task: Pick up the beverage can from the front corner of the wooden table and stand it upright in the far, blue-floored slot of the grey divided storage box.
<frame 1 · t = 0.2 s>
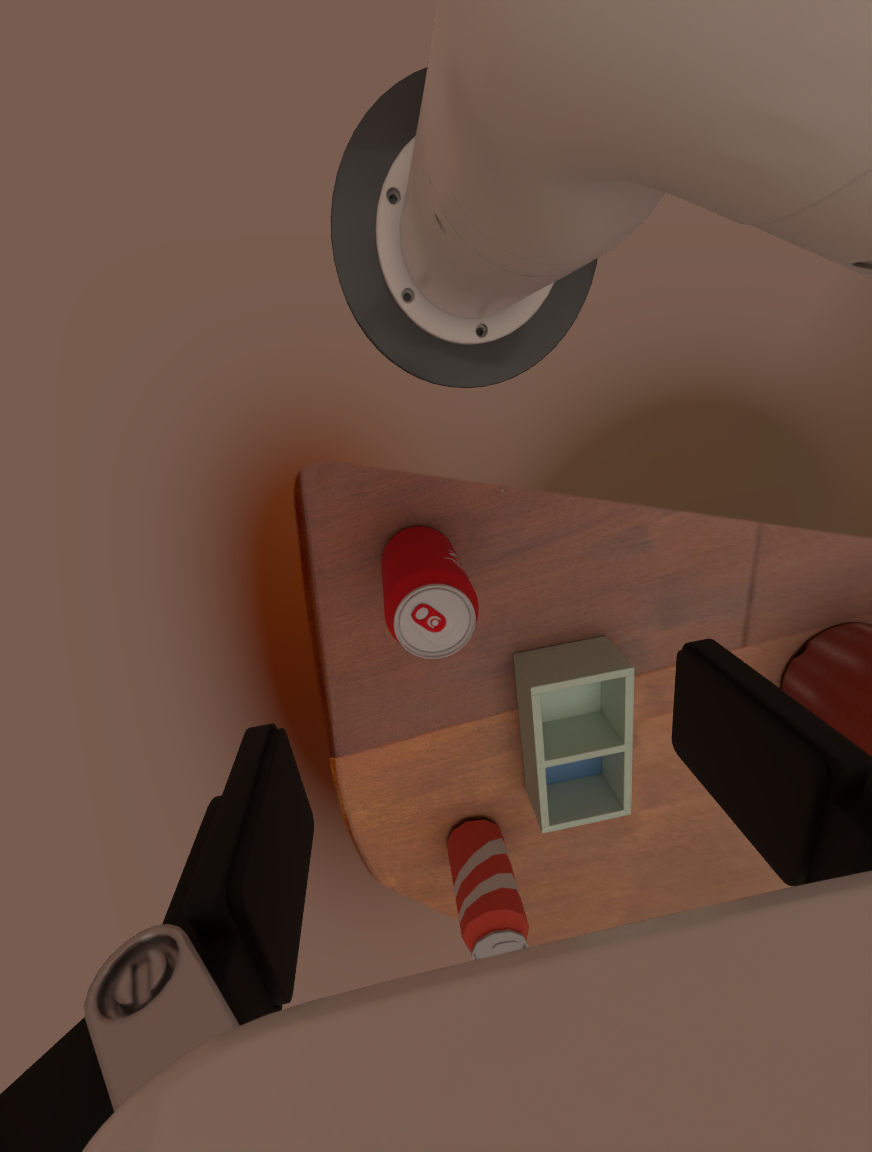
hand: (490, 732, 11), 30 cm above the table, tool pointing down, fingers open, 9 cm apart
beverage can 2: (473, 833, 54), on the table
flower pot: (831, 669, 52), on the table
beverage can: (417, 557, 41), on the table
grey divided storage box: (562, 717, 49), on the table
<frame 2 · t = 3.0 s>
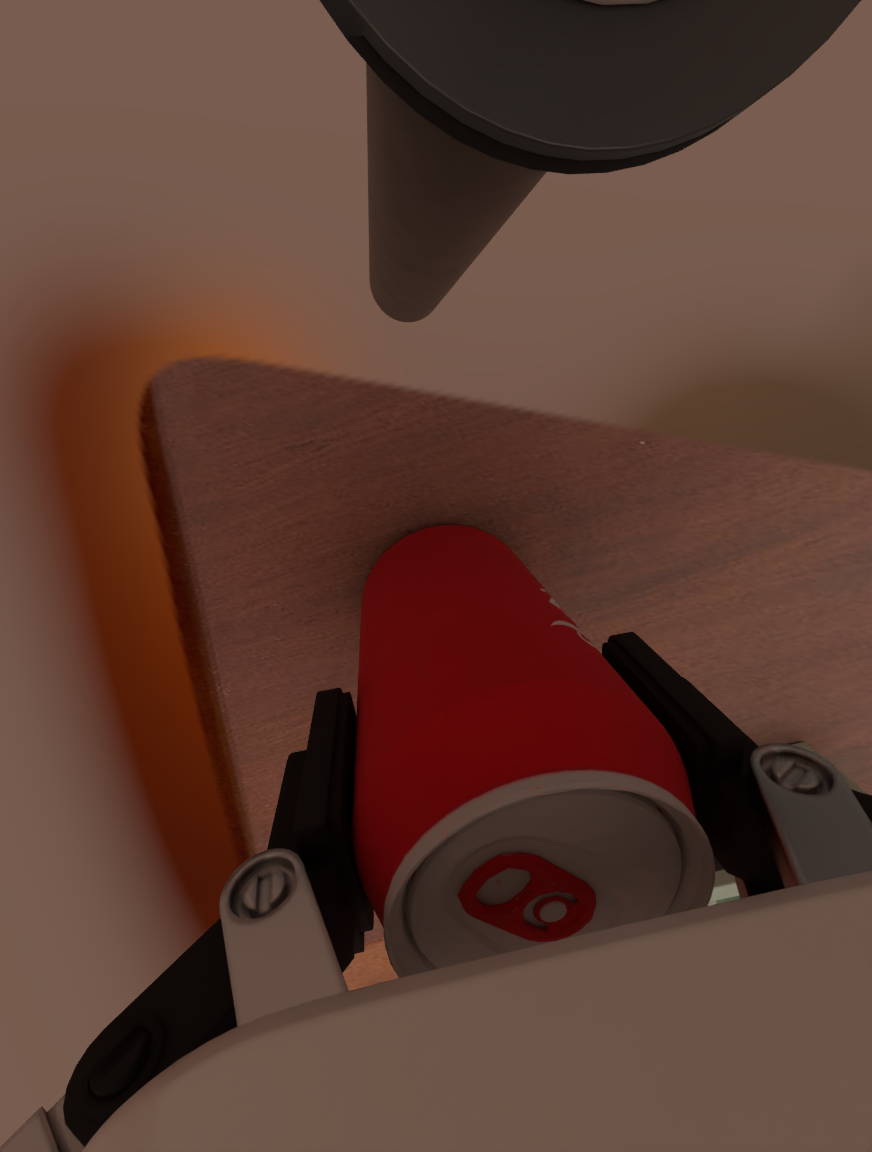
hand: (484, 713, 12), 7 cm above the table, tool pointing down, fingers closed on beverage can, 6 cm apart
beverage can: (443, 595, 19), on the table, touching gripper
grey divided storage box: (702, 881, 27), on the table
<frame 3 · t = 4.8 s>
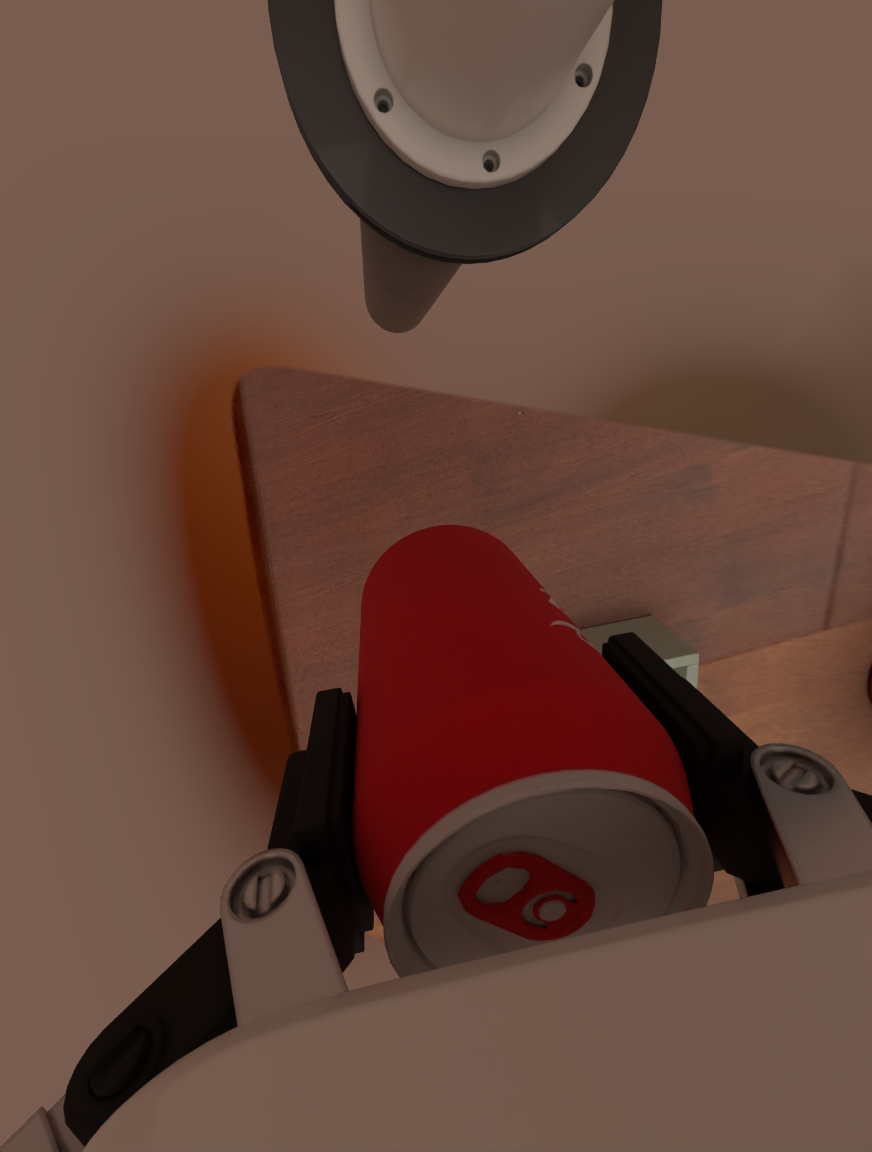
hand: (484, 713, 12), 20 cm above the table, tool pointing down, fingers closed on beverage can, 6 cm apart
beverage can: (443, 595, 19), point 13 cm above the table, touching gripper
grey divided storage box: (595, 722, 39), on the table
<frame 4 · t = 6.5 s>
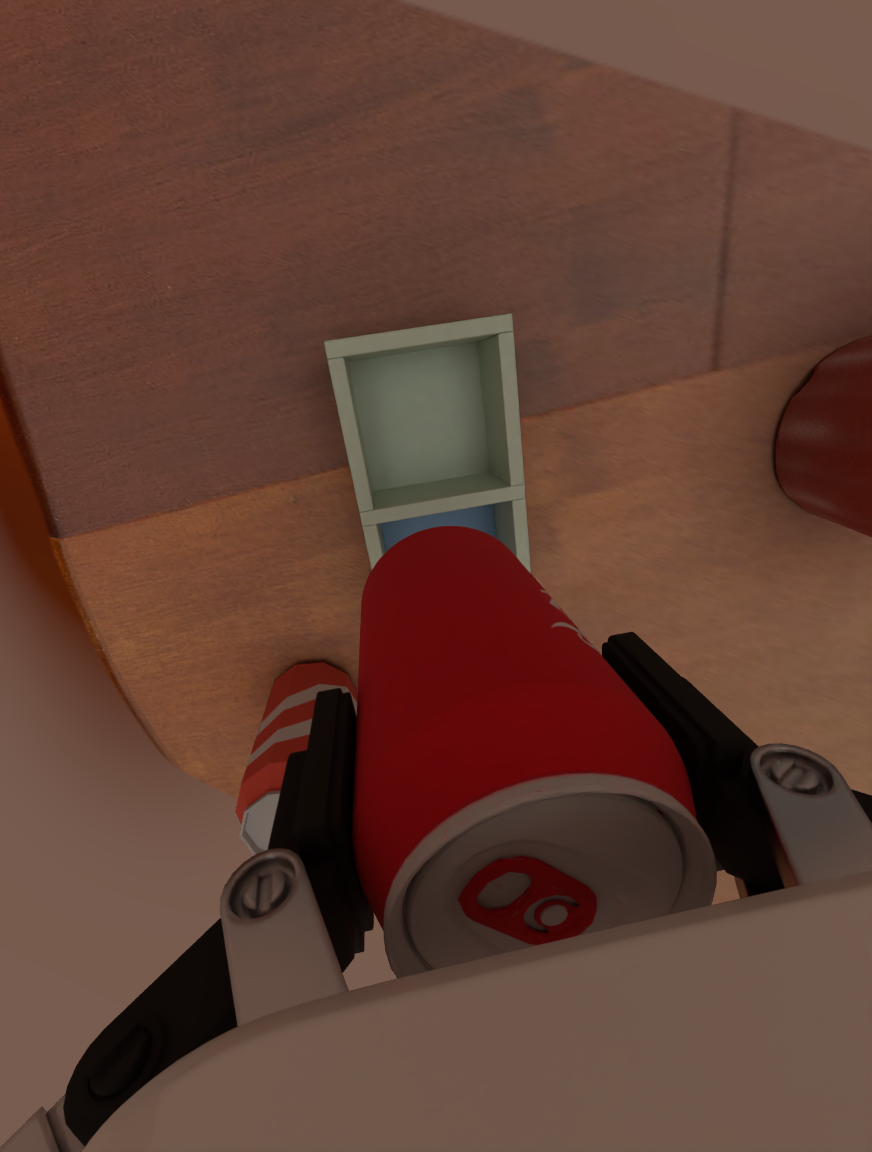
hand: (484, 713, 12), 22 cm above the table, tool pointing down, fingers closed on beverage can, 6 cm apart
beverage can 2: (315, 691, 36), on the table
flower pot: (850, 428, 34), on the table
beverage can: (443, 596, 18), point 14 cm above the table, touching gripper
grey divided storage box: (431, 485, 31), on the table
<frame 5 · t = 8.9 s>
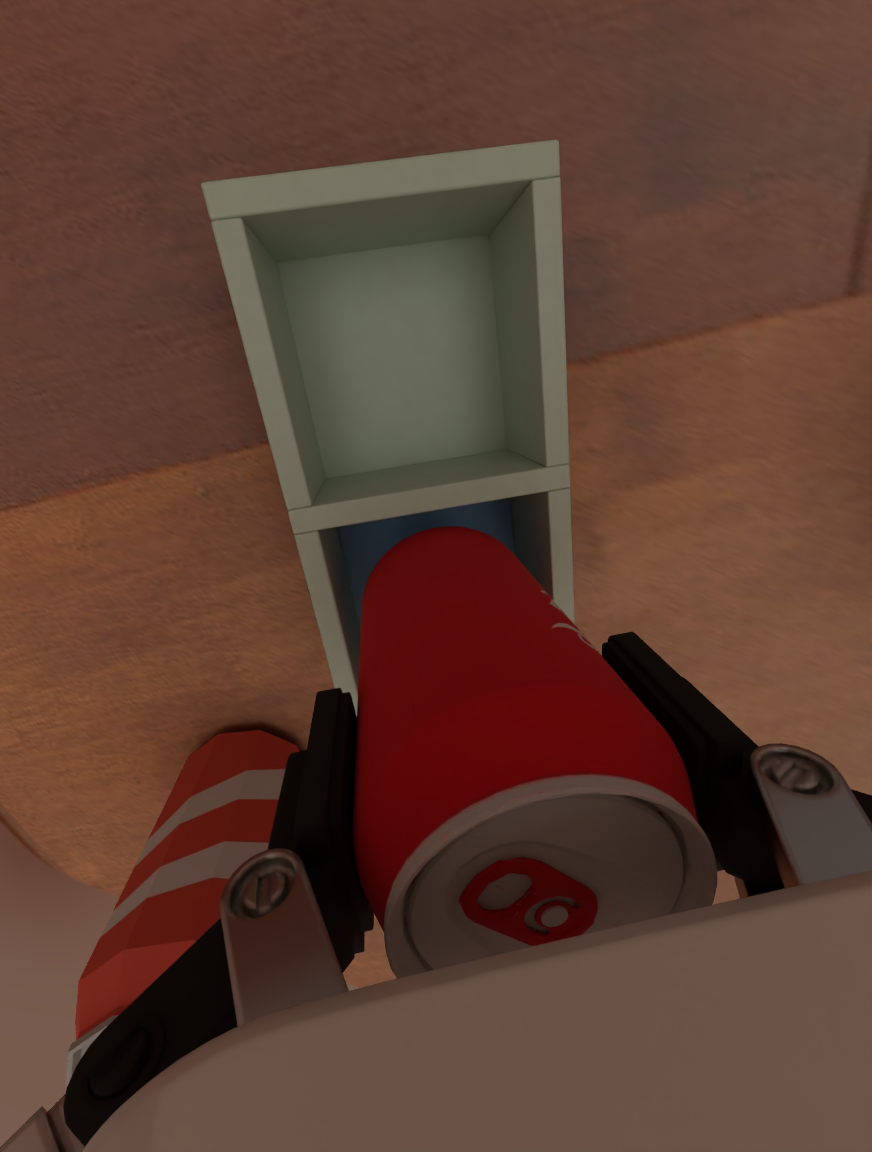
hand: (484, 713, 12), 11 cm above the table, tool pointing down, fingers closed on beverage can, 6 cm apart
beverage can 2: (253, 766, 25), on the table
beverage can: (443, 596, 18), point 4 cm above the table, touching gripper
grey divided storage box: (417, 470, 21), on the table
when the fingers open (8 cm above the table, at t = 10.3 s): beverage can stays where it is, resting on grey divided storage box.
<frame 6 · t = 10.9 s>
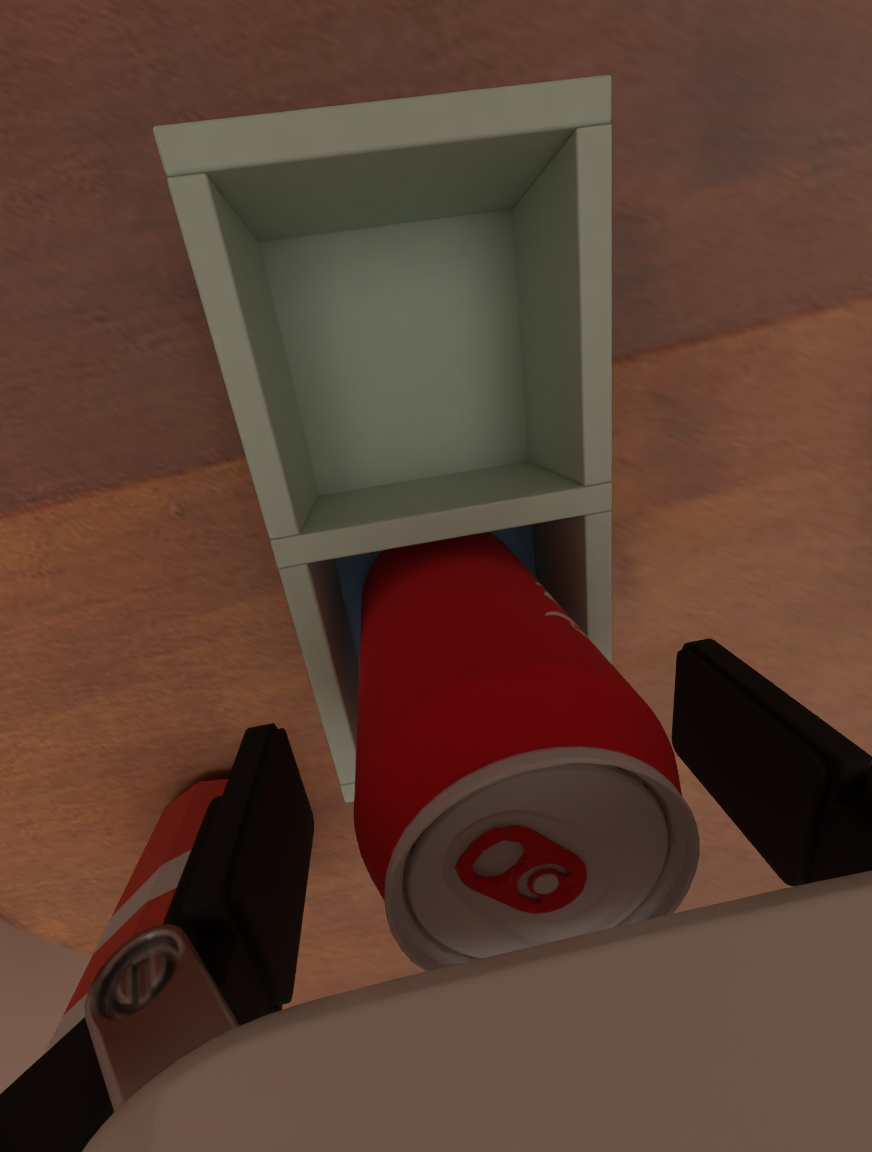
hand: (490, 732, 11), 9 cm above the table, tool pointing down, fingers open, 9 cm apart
beverage can 2: (239, 814, 23), on the table
beverage can: (442, 591, 19), point 1 cm above the table, touching grey divided storage box
grey divided storage box: (425, 485, 18), on the table
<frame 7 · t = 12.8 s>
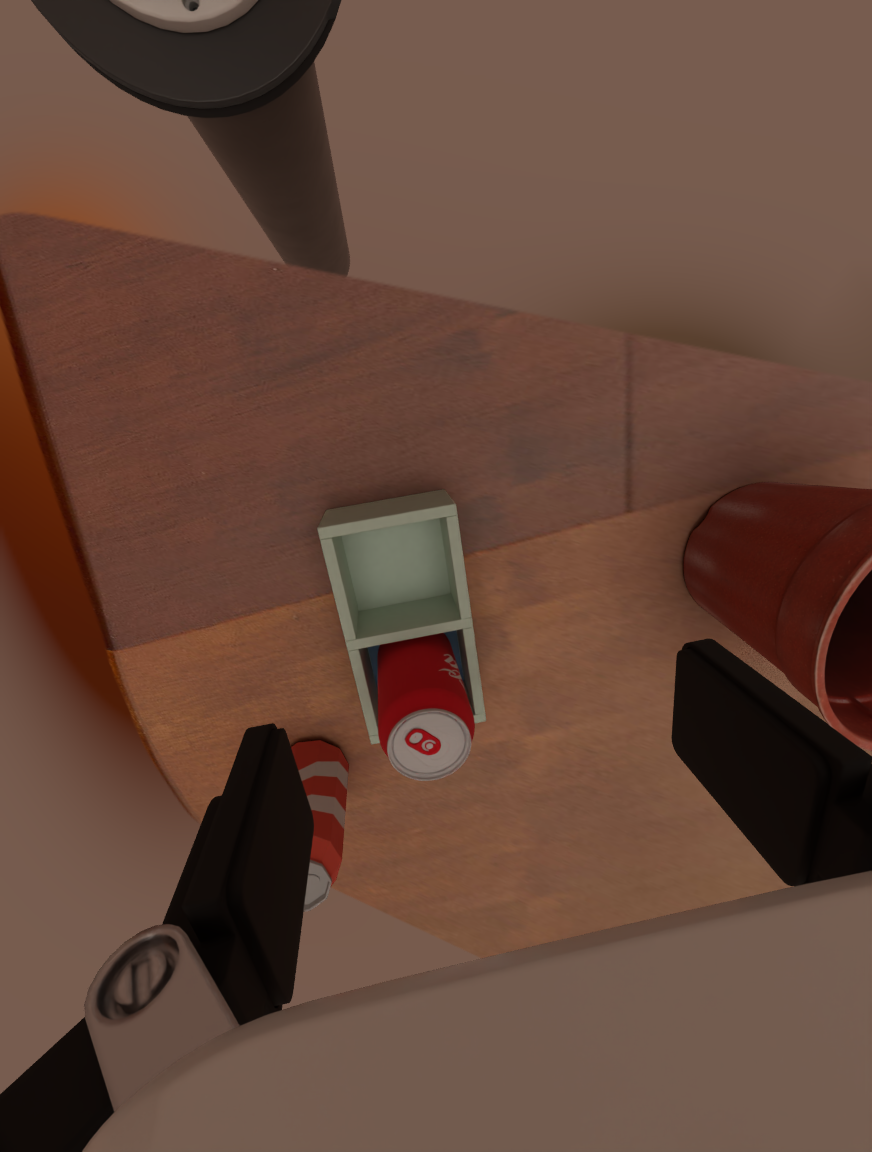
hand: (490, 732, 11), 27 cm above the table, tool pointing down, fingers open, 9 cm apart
beverage can 2: (314, 761, 44), on the table
flower pot: (746, 549, 42), on the table
beverage can: (414, 650, 41), point 1 cm above the table, touching grey divided storage box
grey divided storage box: (405, 603, 40), on the table
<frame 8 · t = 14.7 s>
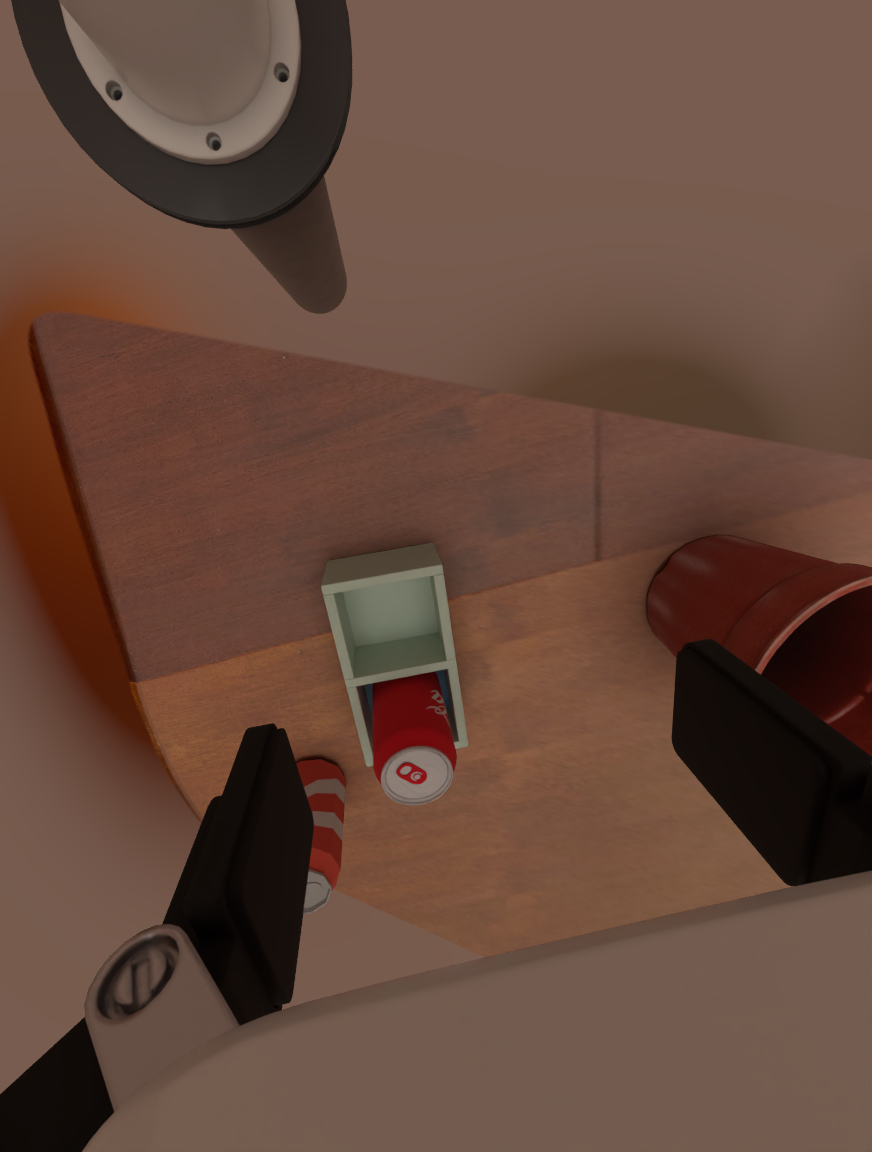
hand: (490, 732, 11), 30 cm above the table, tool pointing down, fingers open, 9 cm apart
beverage can 2: (314, 777, 49), on the table
flower pot: (703, 591, 47), on the table
beverage can: (405, 681, 45), point 1 cm above the table, touching grey divided storage box
grey divided storage box: (397, 640, 44), on the table
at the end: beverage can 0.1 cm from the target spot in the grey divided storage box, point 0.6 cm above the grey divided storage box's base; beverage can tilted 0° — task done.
